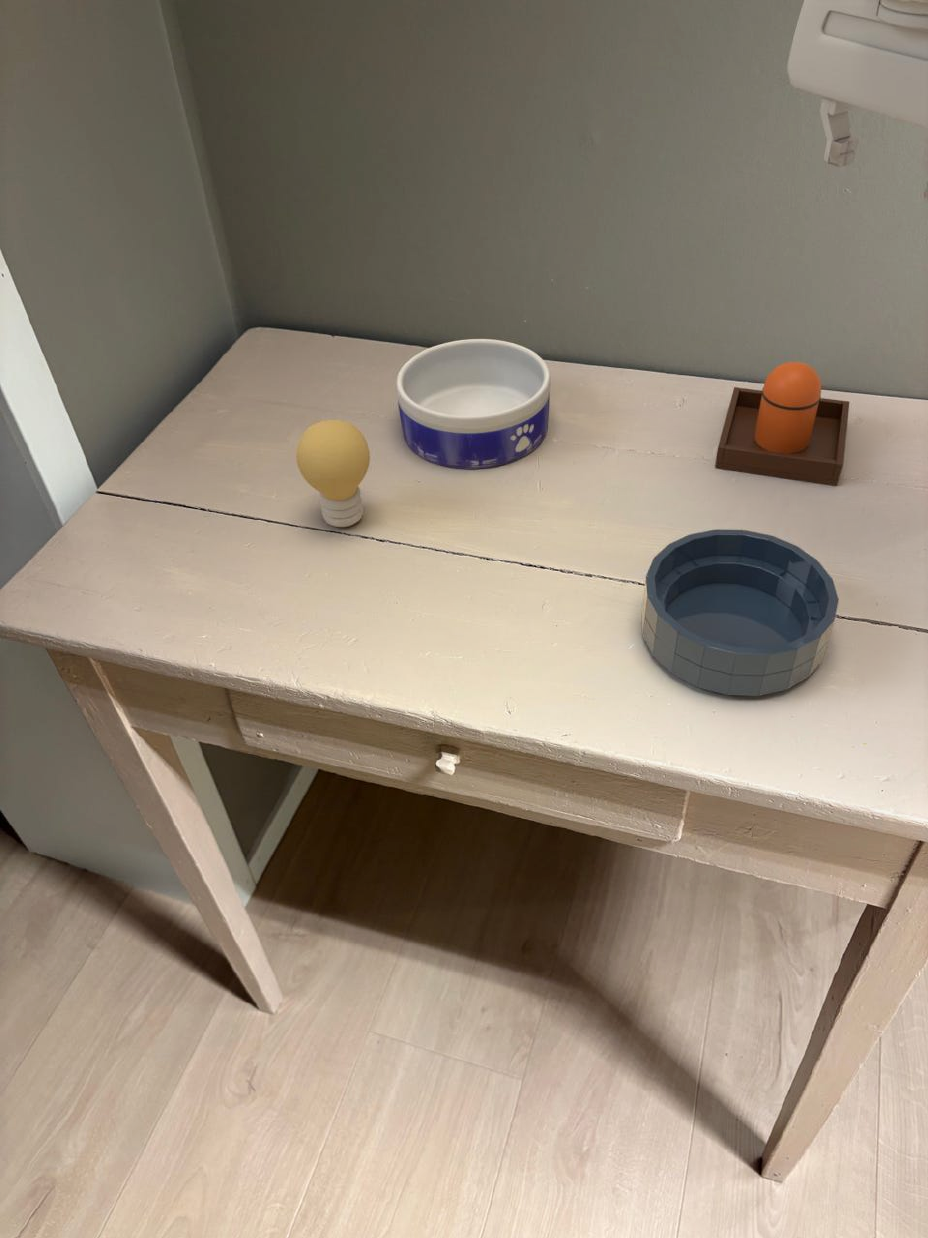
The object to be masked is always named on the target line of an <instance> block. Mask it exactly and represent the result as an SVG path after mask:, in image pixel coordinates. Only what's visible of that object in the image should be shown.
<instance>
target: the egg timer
mask: <svg viewBox="0 0 928 1238" xmlns="http://www.w3.org/2000/svg"><path fill="white" fill-rule="evenodd" d="M761 391H762V397H761V403H760V408H759V413H758V418H757V424H756V429H755V434H754V438H755V441H756V443H757V444H758V445H759V446H760V447H762V448H763V449H765V450H768V451H774V452H781V453H788V454H793V453H797V452H800V451H802V450H804V449H805V448H806V447H807V446H808V445H809V441H810V437H811V433H812V429H813V425H814V421H815V416H816V412H817V408H818V404H819V401H820V398H822V381H821V378H820V376H819V374H818V373H817V371H816V370H815V368H813V367H812V366H810V365H809V364H807V363H804V362H801V361H788V362H784V363H782V364H779V365H778V366H776V367H775V368H774V369H773V370H772V371H770V372H769V374H768V375H767V376H766V378H765V381H764V384H763V386H762V389H761Z"/></svg>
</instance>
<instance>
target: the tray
mask: <svg viewBox="0 0 928 1238" xmlns="http://www.w3.org/2000/svg"><path fill="white" fill-rule="evenodd" d="M761 397H762V389H761V390H760V389H752V388H744V387H739V386H734V387H733V390H732V393H731V397H730V401H729V405H728V410H727V413H726V417H725V420H724V424H723V427H722V430H721V431H722V432H721V435H720V438H719V441H718V446H717V451H716V452H717V453H716V457H715V458H716V460H715V465H714V468H715V469H721V470H726V471H727V470H728V471H735V472H741V473H748V474H754V475H762V476H768V477H774V478H783V479H786V480H787V479H788V480H795V481H801V482H808V483H814V484H815V483H816V484H821V485H822V484H823V485H830V486H834V487H835V486H836V487H837V486H839V485H838V484H839V481H840V478H841V474H842V470H843V466H844V458H845V451H846V450H845V449H846V440H847V432H848V431H847V429H848V422H849V421H848V419H849V410H850V401H848V400H841V399H840V400H839V399H834V398H833V399H831V398H825V397H821V398H820V401H819V404H818V408H817V412H816V416H815V421H814V425H813V429H812V433H811V437H810V441H809V445H808V446H807V447H806V448H805V449H804V450H802V451H800V452H797V453H793V454H788V453H781V452H774V451H768V450H765V449H763V448H762V447H760V446H759V445H758V444H757V443H756V441H755V438H754V434H755V429H756V424H757V418H758V413H759V408H760V403H761Z"/></svg>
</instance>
